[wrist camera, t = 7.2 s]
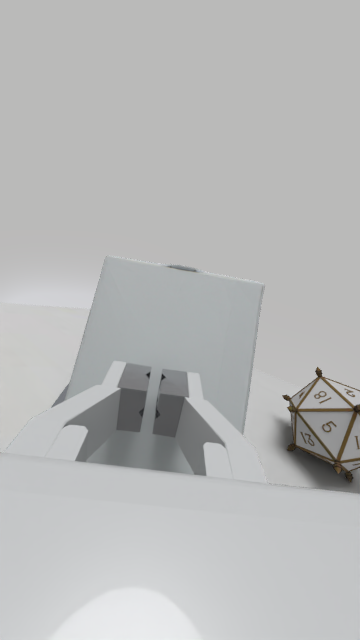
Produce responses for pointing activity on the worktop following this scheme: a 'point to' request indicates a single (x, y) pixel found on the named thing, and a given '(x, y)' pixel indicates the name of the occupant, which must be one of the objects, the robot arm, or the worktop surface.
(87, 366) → the skincare box
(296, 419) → the game die
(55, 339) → the worktop surface
